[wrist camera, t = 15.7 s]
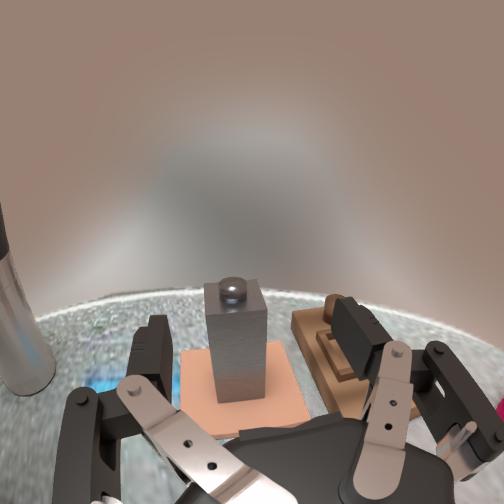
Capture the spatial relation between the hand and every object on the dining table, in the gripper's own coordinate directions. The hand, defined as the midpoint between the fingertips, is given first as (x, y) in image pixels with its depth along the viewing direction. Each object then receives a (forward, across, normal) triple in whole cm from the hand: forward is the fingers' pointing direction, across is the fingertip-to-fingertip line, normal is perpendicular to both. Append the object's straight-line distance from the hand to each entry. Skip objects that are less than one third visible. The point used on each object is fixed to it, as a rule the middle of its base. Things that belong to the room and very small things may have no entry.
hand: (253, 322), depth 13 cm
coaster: (+10, 0, +19) cm, 21 cm away
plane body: (+10, -14, +18) cm, 25 cm away
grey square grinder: (+10, 0, +18) cm, 21 cm away
